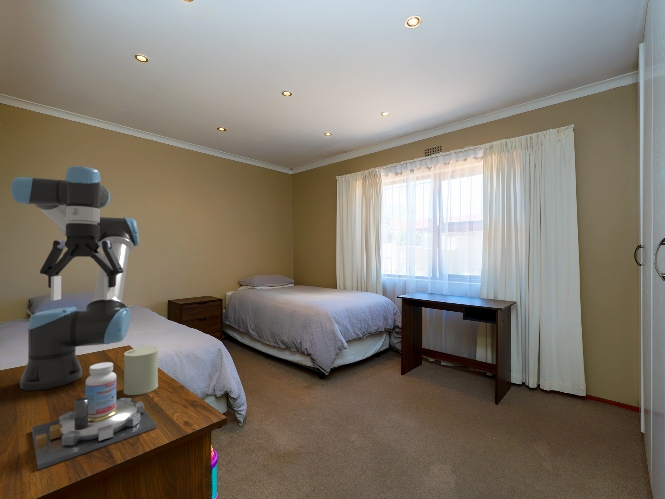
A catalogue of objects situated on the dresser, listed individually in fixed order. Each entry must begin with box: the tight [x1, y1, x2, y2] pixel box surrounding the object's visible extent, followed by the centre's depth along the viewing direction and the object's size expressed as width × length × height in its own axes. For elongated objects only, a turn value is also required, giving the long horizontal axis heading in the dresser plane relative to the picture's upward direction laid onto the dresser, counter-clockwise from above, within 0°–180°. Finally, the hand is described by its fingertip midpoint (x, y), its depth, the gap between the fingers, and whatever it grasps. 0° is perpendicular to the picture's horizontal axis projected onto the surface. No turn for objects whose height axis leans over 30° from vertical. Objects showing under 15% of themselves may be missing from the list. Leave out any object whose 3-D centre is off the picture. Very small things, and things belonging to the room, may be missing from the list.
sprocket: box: [50, 397, 145, 445], centre depth 77 cm, size 18×18×8 cm
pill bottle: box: [84, 361, 117, 418], centre depth 77 cm, size 6×6×11 cm
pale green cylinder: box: [123, 346, 159, 396], centre depth 99 cm, size 9×9×12 cm
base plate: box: [31, 398, 158, 471], centre depth 76 cm, size 19×21×2 cm
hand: (82, 299), depth 90 cm, fingers open, 13 cm apart
